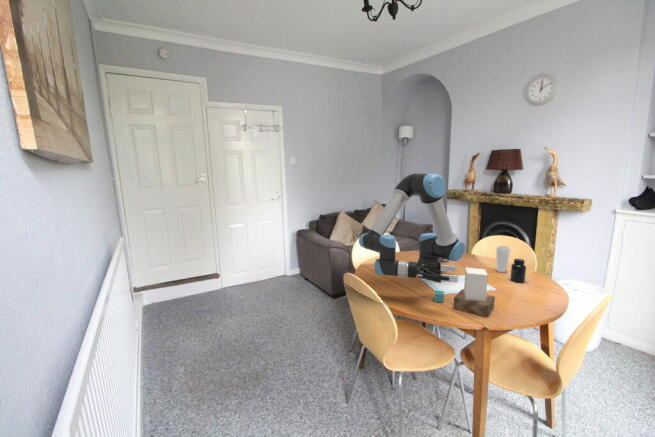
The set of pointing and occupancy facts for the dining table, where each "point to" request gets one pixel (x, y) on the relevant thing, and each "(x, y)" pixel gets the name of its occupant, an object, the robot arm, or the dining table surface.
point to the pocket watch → (443, 259)
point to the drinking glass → (502, 258)
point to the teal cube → (439, 296)
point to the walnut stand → (474, 304)
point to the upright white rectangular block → (475, 284)
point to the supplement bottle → (518, 271)
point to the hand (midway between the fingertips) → (456, 273)
